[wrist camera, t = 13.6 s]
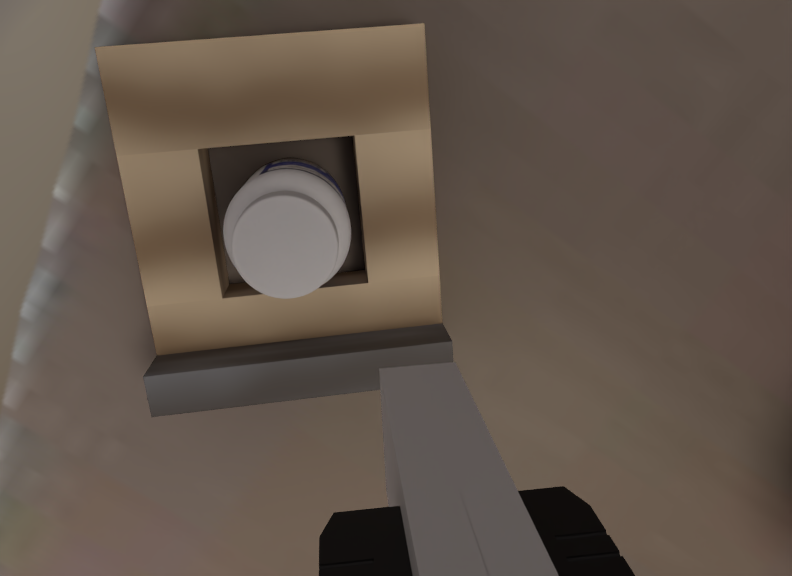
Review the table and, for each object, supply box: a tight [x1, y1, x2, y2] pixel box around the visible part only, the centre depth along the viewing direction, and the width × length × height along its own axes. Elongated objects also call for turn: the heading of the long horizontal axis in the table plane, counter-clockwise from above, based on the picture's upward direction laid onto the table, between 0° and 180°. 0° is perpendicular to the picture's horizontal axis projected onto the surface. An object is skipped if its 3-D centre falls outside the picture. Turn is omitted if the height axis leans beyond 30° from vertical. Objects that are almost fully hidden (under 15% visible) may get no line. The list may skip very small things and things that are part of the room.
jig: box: [95, 23, 453, 417], centre depth 30 cm, size 16×14×5 cm
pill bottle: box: [223, 158, 351, 299], centre depth 28 cm, size 5×5×9 cm
